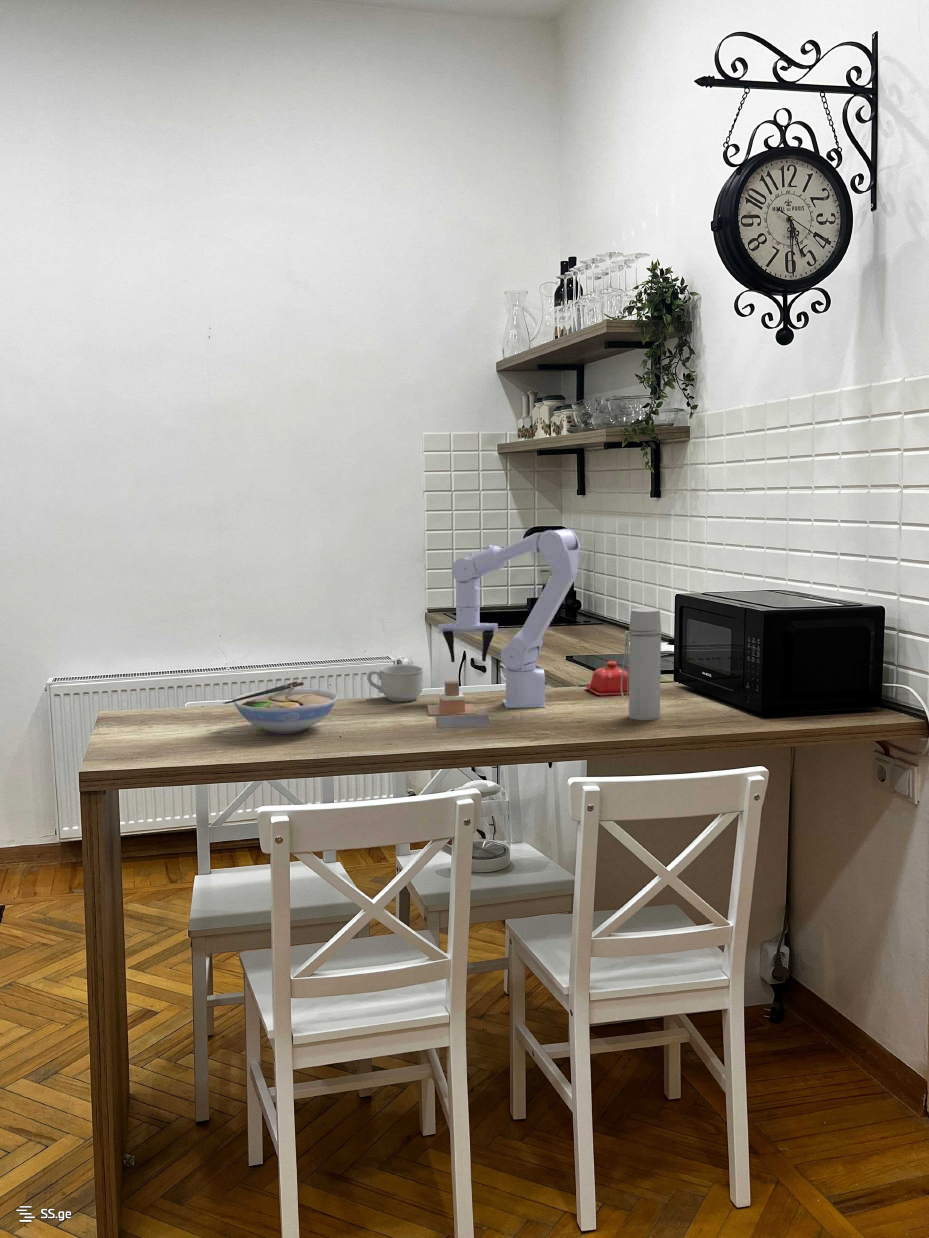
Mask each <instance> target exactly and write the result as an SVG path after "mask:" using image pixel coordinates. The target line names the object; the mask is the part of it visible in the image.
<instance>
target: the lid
mask: <svg viewBox="0 0 929 1238" xmlns="http://www.w3.org/2000/svg"><path fill="white" fill-rule="evenodd" d="M439 694H440V698H441V699H442V701H445V700H465V701H466V699H465V696H466V695H464V693H463V692H462V691H460V683H459V681H458V680H445V681H444V692H439Z"/></svg>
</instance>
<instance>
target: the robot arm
mask: <svg viewBox="0 0 929 1238" xmlns="http://www.w3.org/2000/svg"><path fill="white" fill-rule="evenodd" d="M580 549H581V544H580V541H579V539H578V536H577V534H576V533H575V532H574V531H573V530H572V529H569V528H562V529H556V530H555V529H554V530H552V529H548V530H545V531H542V532H537V533H533V534H531V535H529V536H525V537H524V538H521V539H520V540H517V541H515V542H513V543H511V544H509V545H506V546H504V547H500V546H497V545H492V544H490V545H489V544H488V545H486V546H485V547H484V550H481V551H479V552H476V553H475V552H471V553H469V556H468V557H459V558H457V559H456V560H455V561H454V562H453V564H452V566H451V575H452V577H453V578H454V579H455V596H456V597H455V598H456V600H455V603H456V604H455V607H456V608H455V609H456V611H455V613H456V616H455V617H456V620H455V621H456V622H454V623H441V624H438V634H442V635H443V638H444V639H445V642H446V644H447V647H448V650H449V654H450V661H451V663H455V650H454V649H455V648H454V647H455V646H454V643H455V639H454V638H455V636H454V633H480V632H482V633H481V636H482V638H481V640H482V641H481V642H482V651H481V660H482V662H483V663H484V662H486V661H487V655H488V651H489V648H490V645H491V642H492V639H493V638H494V635H495V634H494V633H498V631H499V624H498V623H494V622H491V623H489V622H480V620H481V619H480V613H481V612H480V610H481V609H480V584H481V583H480V581H481V578H482V577H484V576H486V575H489V574H491V573H494V572H496V571H498V570H501V569H504V568H505V567H506V564H507V562H508V561H510V560H513V559H516V558H519V557H520V556H523V555H527V554H529V553H532V552H533V553H536V554H539V553H540V554H541V556H542V557H543V559H544V560H545V561H546V562H547V564H548V565H549V568H550V570H551V575H550V577H549V579H548V581H547V583H546V585H545V586H544V588H543V590H542V591H541V593H540V596H539V597H538V599H537V600H536V603H535V604H534V606H533V608H532V610H531V611H530V613H529V616H528V617H527V618H526V620H525V623H524V624H523V626H522V627H521V629H520V630H519V631H518V632H517V633H516V634H515V635H514V636H513V637H512V639H511V640H510V642H508V643H507V644H505V645H504V646H503V648H502V649H501V651H500V660H501V662H502V664H503V666H504V667H505V699H503V700H502V703H503V705H504V707H505V708H506V709H524V708H528V709H529V708H546V674H545V670H544V668H537V667H536V663H537V661H538V660H539V659H540V656H541V650H542V649H541V648H542V646H543V644H544V639H543V636H544V635H545V633H546V631H547V629H548V627H549V626H550V624H551V623H552V620H553V619H554V617H555V615H556V614H557V612H558V610H559V608H560V606H561V604H562V603H563V601H564V599H565V598H566V596H567V594H568V593H569V591H570V589H571V587H572V586H573V583H574V582H575V580H576V578H577V575H578V569H579V568H578V562H579V552H580Z"/></svg>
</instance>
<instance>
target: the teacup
mask: <svg viewBox="0 0 929 1238" xmlns="http://www.w3.org/2000/svg"><path fill="white" fill-rule="evenodd" d="M423 673H424V667H421V666H420V665H419V666H418V665H413V664H390V665H386V666H383V667H381V668H380V670H377V669H371V670H370V671H369V672H368V673H367V675H366V681H367V682H368V683H369V685H370V686H371V687H372V688H373V689H376V690H378V692H379V693H380V694H383V695H384V696H385V697H386V698H387V700H390V701H392V702H399V703H400V702H410V701H413V700H416V699H417V698H418V696H420V695H421V693H422V691H423V682H424V674H423ZM373 675H377V676H378V679H379V681H380V685H378V684H376V683H375V682H373V680H372V676H373Z"/></svg>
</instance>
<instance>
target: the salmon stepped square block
mask: <svg viewBox="0 0 929 1238" xmlns="http://www.w3.org/2000/svg"><path fill="white" fill-rule="evenodd" d="M426 707H427V711H428V716H429V717H436V716H463V715H478V714H477V711H476V708H475V706H474V704H473V703H466V699H465V700H445V701H442V699H441V698H440V693H439V694H437V704H427V705H426Z"/></svg>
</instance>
